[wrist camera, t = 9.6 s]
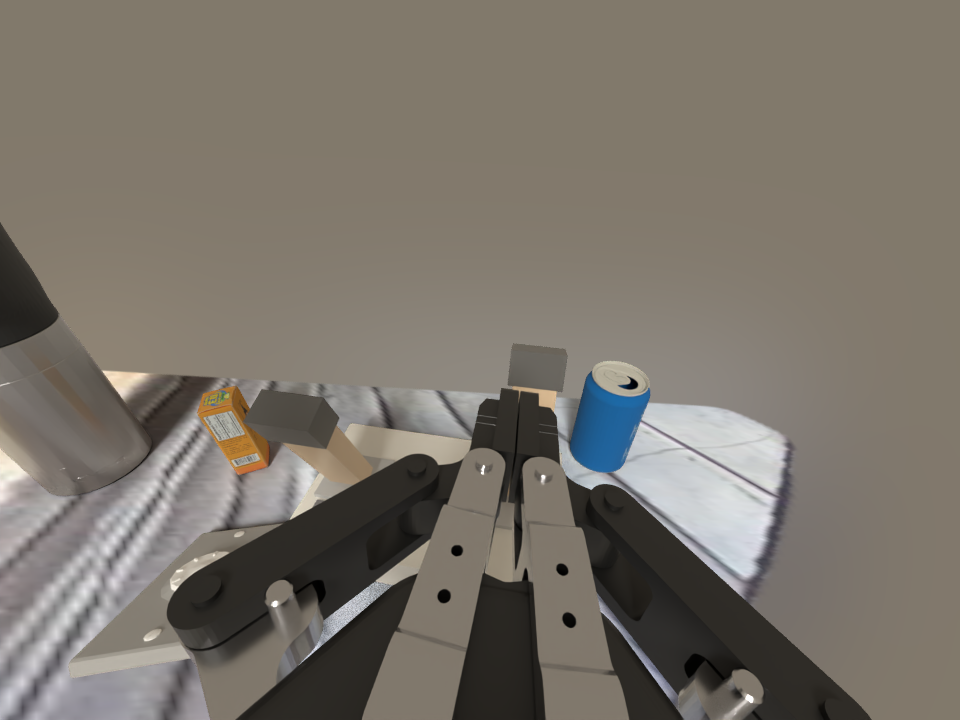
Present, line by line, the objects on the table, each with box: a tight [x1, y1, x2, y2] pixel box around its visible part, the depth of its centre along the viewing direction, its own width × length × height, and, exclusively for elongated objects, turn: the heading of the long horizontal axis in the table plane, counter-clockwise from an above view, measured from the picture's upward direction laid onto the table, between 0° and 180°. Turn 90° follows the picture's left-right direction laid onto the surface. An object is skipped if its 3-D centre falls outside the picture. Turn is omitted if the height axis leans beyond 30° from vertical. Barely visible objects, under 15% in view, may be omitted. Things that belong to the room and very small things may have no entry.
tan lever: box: [507, 344, 567, 496], centre depth 31 cm, size 2×4×14 cm, turn 81°
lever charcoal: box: [243, 389, 373, 485], centre depth 29 cm, size 2×4×14 cm, turn 80°
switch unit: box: [290, 423, 562, 585], centre depth 36 cm, size 14×24×4 cm, turn 81°
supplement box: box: [197, 386, 270, 475], centre depth 39 cm, size 3×3×10 cm
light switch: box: [68, 523, 283, 678], centre depth 28 cm, size 8×5×13 cm
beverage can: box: [570, 361, 650, 473], centre depth 40 cm, size 6×6×12 cm
